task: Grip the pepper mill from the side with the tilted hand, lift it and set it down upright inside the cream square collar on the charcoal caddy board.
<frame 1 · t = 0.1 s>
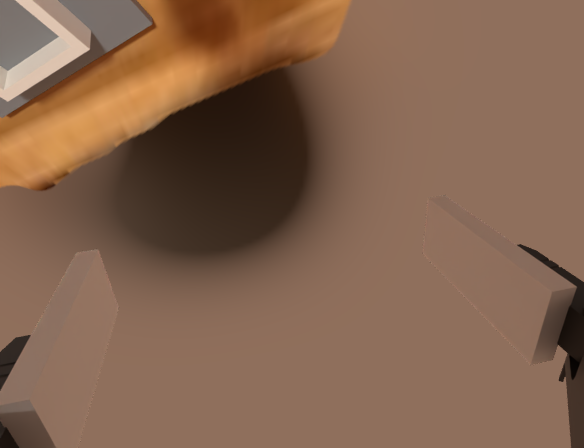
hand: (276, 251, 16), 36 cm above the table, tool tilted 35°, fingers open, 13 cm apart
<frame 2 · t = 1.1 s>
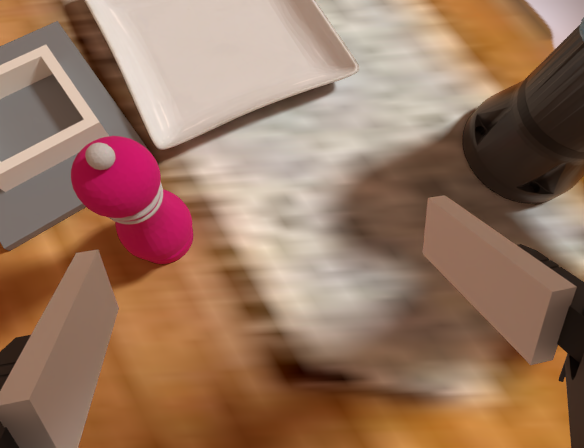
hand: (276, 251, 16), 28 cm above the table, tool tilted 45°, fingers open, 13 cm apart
caddy: (38, 127, 46), on the table
pepper mill: (165, 237, 44), on the table
square plate: (220, 46, 53), on the table
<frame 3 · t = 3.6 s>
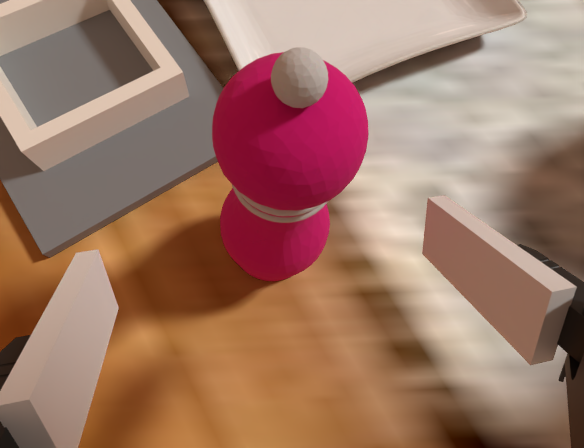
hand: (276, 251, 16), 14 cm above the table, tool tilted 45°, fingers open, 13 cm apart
caddy: (87, 83, 33), on the table
pepper mill: (271, 241, 30), on the table
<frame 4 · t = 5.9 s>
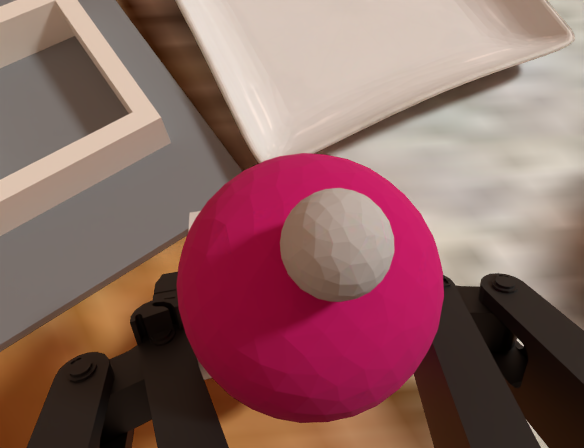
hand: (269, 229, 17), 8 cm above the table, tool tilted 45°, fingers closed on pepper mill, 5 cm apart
caddy: (46, 126, 27), on the table
pepper mill: (274, 326, 24), on the table, touching gripper
square plate: (335, 2, 34), on the table
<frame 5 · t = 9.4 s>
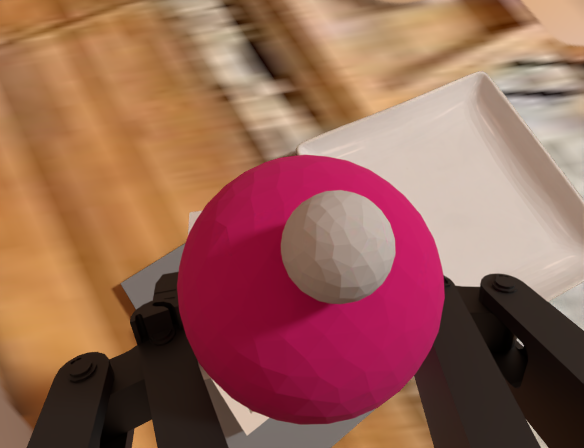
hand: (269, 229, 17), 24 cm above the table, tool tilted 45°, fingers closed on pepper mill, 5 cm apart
caddy: (264, 331, 40), on the table
pepper mill: (274, 327, 24), point 16 cm above the table, touching gripper
square plate: (443, 211, 46), on the table
when the fingers open (11 cm above the table, at t = 13.1 s): pepper mill drops 1 cm, resting on caddy.
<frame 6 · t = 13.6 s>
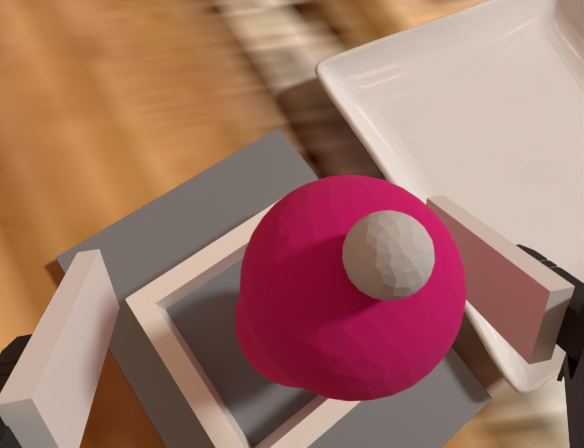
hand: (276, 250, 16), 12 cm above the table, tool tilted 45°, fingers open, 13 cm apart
caddy: (272, 328, 27), on the table
pepper mill: (292, 323, 26), point 1 cm above the table, touching caddy
square plate: (518, 161, 33), on the table
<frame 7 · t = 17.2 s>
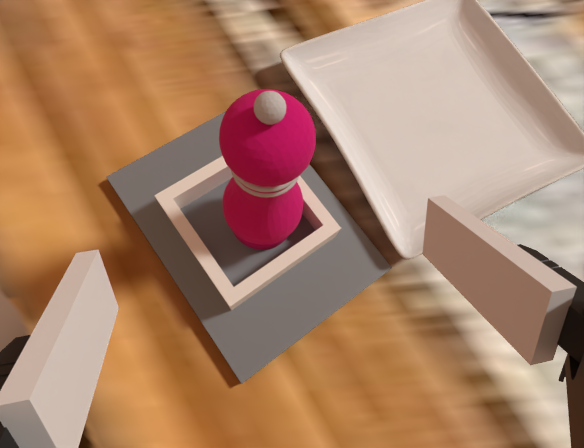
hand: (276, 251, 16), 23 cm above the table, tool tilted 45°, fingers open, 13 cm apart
caddy: (249, 225, 40), on the table
pepper mill: (261, 220, 40), point 1 cm above the table, touching caddy
square plate: (426, 121, 47), on the table
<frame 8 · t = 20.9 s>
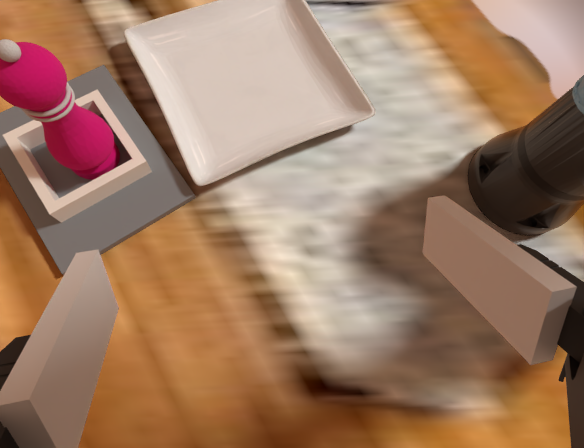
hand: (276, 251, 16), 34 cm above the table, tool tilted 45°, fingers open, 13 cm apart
caddy: (87, 163, 52), on the table
pepper mill: (96, 158, 51), point 1 cm above the table, touching caddy
square plate: (249, 87, 59), on the table
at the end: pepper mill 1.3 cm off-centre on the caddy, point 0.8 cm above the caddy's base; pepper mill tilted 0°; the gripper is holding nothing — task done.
